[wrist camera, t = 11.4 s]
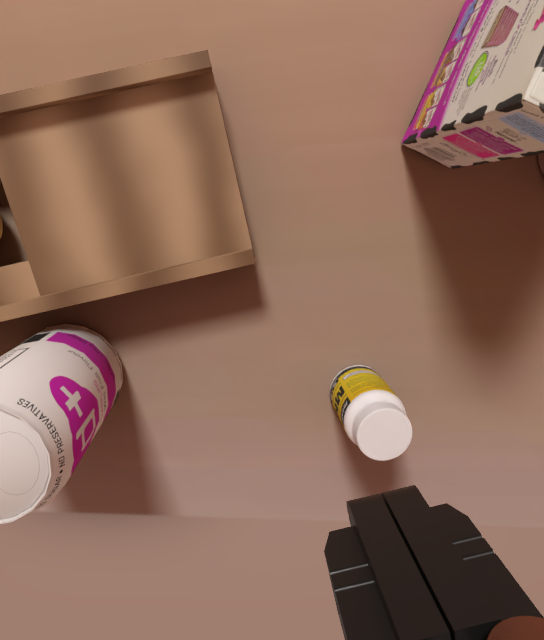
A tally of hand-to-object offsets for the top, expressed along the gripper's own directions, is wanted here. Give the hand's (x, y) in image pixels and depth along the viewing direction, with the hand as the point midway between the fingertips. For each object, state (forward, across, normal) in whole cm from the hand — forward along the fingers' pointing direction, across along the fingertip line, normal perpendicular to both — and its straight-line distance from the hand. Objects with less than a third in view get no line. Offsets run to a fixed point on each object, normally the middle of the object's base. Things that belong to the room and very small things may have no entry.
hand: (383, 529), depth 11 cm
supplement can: (+30, +17, +3) cm, 35 cm away
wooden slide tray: (+30, +14, -10) cm, 35 cm away
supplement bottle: (+30, -5, +10) cm, 32 cm away
